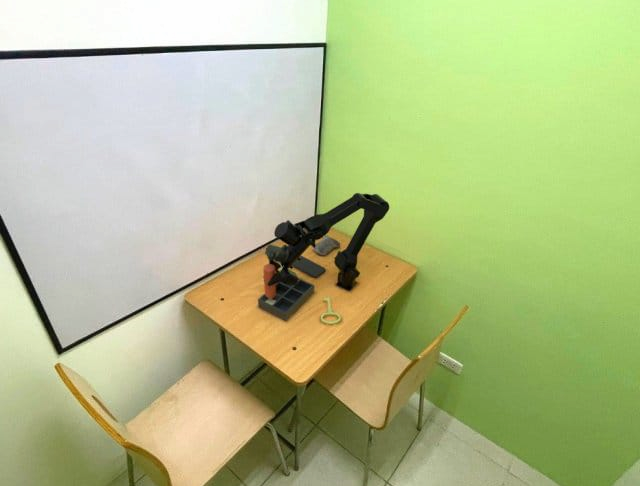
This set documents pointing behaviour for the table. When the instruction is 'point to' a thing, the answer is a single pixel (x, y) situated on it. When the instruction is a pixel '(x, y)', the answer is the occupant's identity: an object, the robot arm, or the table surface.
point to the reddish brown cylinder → (268, 274)
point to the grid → (286, 298)
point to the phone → (309, 267)
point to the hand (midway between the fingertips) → (266, 281)
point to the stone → (326, 245)
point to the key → (329, 313)
